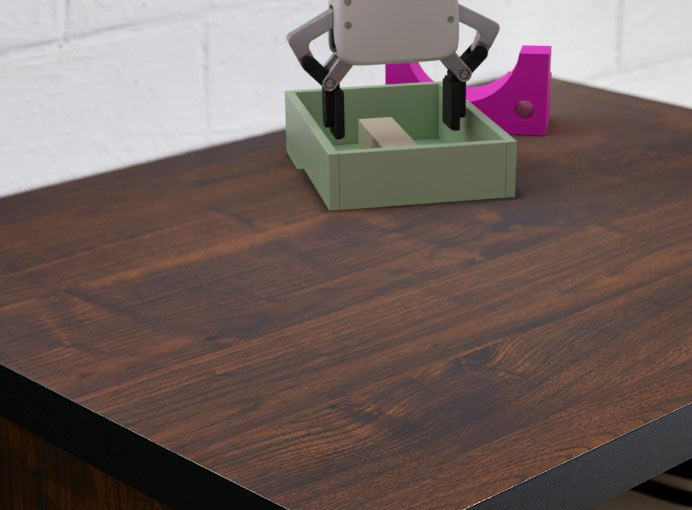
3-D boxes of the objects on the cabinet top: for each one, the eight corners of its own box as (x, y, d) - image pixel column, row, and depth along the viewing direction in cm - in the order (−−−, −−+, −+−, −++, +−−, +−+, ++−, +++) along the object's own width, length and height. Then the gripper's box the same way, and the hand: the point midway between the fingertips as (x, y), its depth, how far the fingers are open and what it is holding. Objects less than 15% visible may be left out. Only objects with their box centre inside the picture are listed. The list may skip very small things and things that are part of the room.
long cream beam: (358, 152, 122) (358, 118, 121) (391, 150, 122) (391, 116, 121) (394, 198, 109) (394, 161, 108) (430, 195, 110) (431, 158, 108)
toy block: (549, 119, 134) (553, 40, 131) (545, 135, 128) (548, 54, 125) (396, 114, 137) (396, 37, 134) (385, 130, 131) (385, 50, 128)
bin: (443, 141, 127) (444, 80, 125) (514, 211, 107) (517, 141, 105) (286, 152, 125) (284, 90, 122) (329, 225, 105) (328, 154, 103)
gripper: (487, -96, 112) (482, 113, 119) (275, -86, 109) (284, 127, 116) (514, -86, 105) (508, 134, 112) (290, -75, 103) (298, 150, 110)
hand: (394, 131), depth 114 cm, fingers open, 9 cm apart
